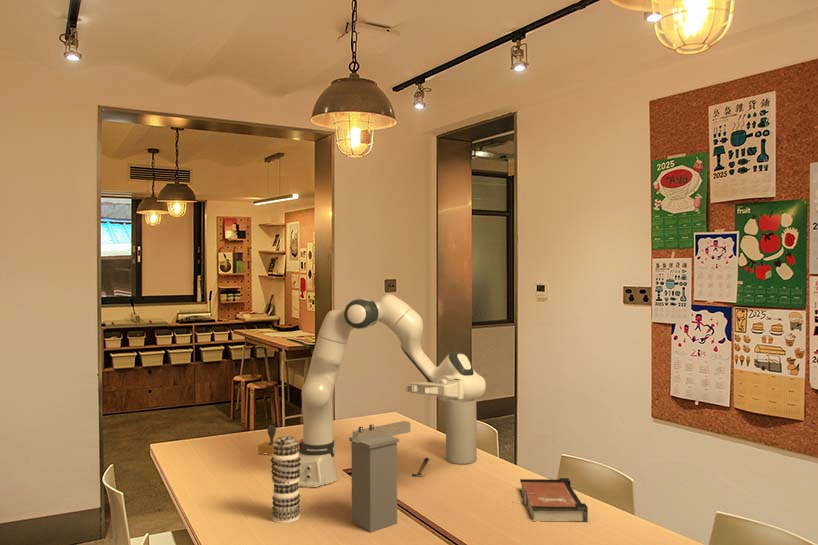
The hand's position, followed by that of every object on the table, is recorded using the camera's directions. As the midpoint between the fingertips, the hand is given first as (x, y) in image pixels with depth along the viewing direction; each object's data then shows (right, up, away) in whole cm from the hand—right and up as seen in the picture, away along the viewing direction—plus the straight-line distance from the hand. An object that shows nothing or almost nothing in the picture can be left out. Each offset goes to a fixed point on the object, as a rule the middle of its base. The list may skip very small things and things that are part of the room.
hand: (415, 389), depth 202 cm
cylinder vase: (+19, -38, +46) cm, 63 cm away
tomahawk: (+4, -38, +36) cm, 53 cm away
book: (+45, -38, -2) cm, 59 cm away
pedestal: (-13, -38, -15) cm, 43 cm away
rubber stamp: (-61, -38, +57) cm, 92 cm away
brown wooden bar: (-10, -12, -13) cm, 21 cm away
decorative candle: (-41, -38, -11) cm, 57 cm away
